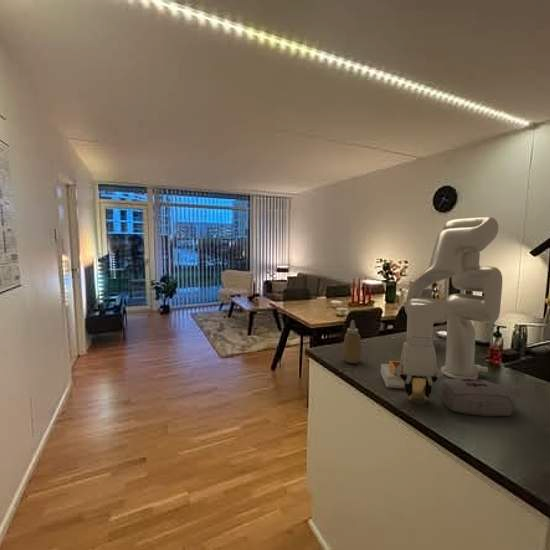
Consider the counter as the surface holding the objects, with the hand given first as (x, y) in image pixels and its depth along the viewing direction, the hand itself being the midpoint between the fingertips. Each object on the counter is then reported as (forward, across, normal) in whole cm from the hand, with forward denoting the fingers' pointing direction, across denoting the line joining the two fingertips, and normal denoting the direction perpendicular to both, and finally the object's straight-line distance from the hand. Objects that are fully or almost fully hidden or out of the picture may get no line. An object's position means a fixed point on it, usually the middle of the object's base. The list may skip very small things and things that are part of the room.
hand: (417, 394), depth 100 cm
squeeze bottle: (+2, +18, -32) cm, 37 cm away
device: (+2, -17, -60) cm, 62 cm away
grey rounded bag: (+2, -17, +2) cm, 17 cm away
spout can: (+2, 0, 0) cm, 2 cm away
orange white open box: (+2, +1, -14) cm, 14 cm away
